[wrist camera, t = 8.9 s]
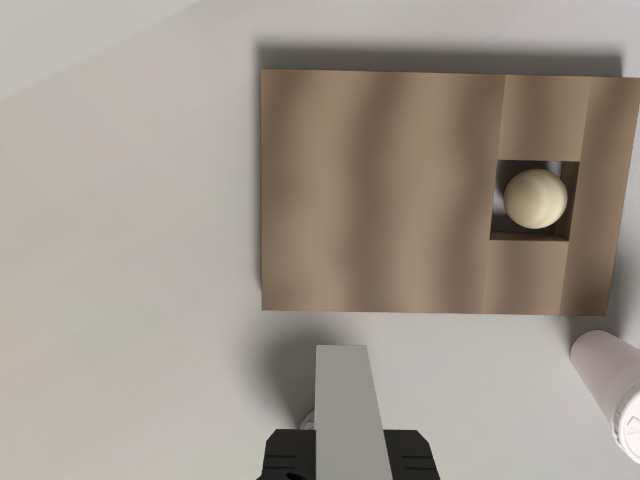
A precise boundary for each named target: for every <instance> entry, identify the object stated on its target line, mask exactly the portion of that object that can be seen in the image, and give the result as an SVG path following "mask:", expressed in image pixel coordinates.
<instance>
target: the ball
mask: <svg viewBox="0 0 640 480" xmlns="http://www.w3.org/2000/svg"><path fill="white" fill-rule="evenodd" d="M567 199H568V197H567V190H566V187H565V185H564V184H563V182H562V181H561V179H560V178H559V177H558V176H556V175H555V174H554V173H552V172H550V171H547V170H543V169H529V170H525V171H523V172H521V173H519V174H517V175H516V176H515V177H514V178H513V179H512V180H511V181H510V182H509V184H508V185H507V187H506V189H505V192H504V206H505V209H506V212H507V214H508V215H509V217H510V218H511V219H512V220H513V221H514V222H516V223H517V224H519V225H521V226H523V227H526V228H532V229H537V228H543V227H546V226H549V225H551V224H553V223H554V222H556V221H557V220H558V219H559V218H560V217H561V215H562V214H563V213H564V211H565V208H566V205H567Z"/></svg>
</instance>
